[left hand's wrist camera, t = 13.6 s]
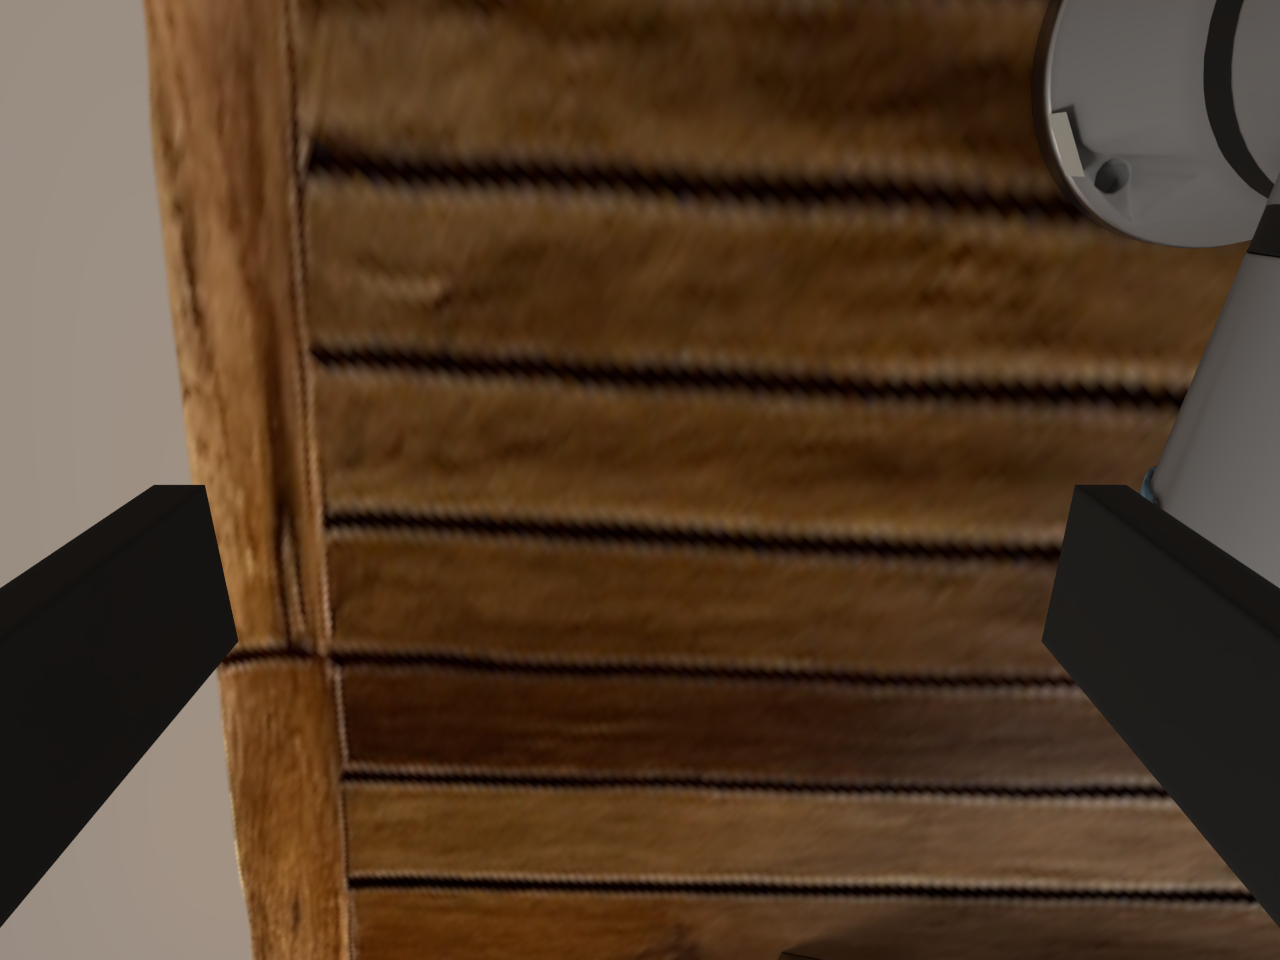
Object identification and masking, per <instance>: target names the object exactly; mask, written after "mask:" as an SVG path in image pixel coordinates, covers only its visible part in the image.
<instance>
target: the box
mask: <svg viewBox="0 0 1280 960" xmlns="http://www.w3.org/2000/svg"><path fill="white" fill-rule="evenodd" d="M779 960H816V959H811V958H806V957H801V956H796V955H791V954H786V953H781V956H780V958H779Z"/></svg>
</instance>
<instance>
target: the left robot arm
mask: <svg viewBox="0 0 1280 960" xmlns="http://www.w3.org/2000/svg"><path fill="white" fill-rule="evenodd" d="M1031 97H1032V113H1033V120H1034V126H1035V132H1036V136H1037V140H1038V143H1039V147H1040V150H1041V153H1042V156H1043V158H1044V161H1045V163H1046V166H1047V168H1048V170H1049V171H1050V173H1051V175H1052V177H1053V179H1054V181H1055V182H1056V184H1057V185H1058V187H1059V188H1060V190H1061V191H1062V193H1063V194H1064V195H1065V196H1066V197H1067V198H1068V200H1069V201H1070V202H1071V203H1072V204H1073V205H1074V206H1075V207H1076V208H1077V209H1078V210H1079V211H1080V212H1081V213H1082V214H1084V215H1085V216H1086V217H1088V218H1089V219H1090V220H1092V221H1093V222H1094V223H1096V224H1097V225H1099V226H1101V227H1103V228H1105V229H1107V230H1108V231H1110V232H1113V233H1115V234H1118V235H1120V236H1123V237H1125V238H1129V239H1133V240H1136V241H1140V242H1146V243H1152V244H1158V245H1164V246H1171V247H1178V248H1208V247H1216V246H1223V245H1229V244H1234V243H1239V242H1244V241H1248V240H1252V241H1251V243H1250V246H1249V248H1248V250H1247V252H1248V253H1245V255H1244V258H1243V260H1242V263H1241V265H1240V267H1239V270H1238V272H1237V275H1236V277H1235V279H1234V282H1233V284H1232V287H1231V289H1230V291H1229V294H1228V296H1227V299H1226V301H1225V303H1224V306H1223V308H1222V311H1221V313H1220V315H1219V318H1218V320H1217V322H1216V325H1215V327H1214V330H1213V332H1212V334H1211V337H1210V339H1209V342H1208V344H1207V346H1206V349H1205V351H1204V354H1203V356H1202V358H1201V361H1200V363H1199V366H1198V368H1197V370H1196V373H1195V375H1194V378H1193V380H1192V382H1191V385H1190V387H1189V390H1188V392H1187V394H1186V397H1185V399H1184V402H1183V404H1182V406H1181V409H1180V411H1179V414H1178V416H1177V418H1176V421H1175V423H1174V426H1173V428H1172V430H1171V433H1170V435H1169V438H1168V440H1167V442H1166V445H1165V447H1164V450H1163V452H1162V454H1161V457H1160V459H1159V462H1158V464H1157V466H1155V467H1152V468H1150V469H1149V471H1148V472H1147V474H1146V476H1145V477H1144V480H1143V483H1142V487H1141V491H1140V494H1141V495H1140V494H1139V493H1137V492H1136V491H1134V490H1133V489H1131V488H1130V487H1128V486H1127V485H1075V488H1074V493H1073V498H1072V502H1071V507H1070V512H1069V516H1068V521H1067V526H1066V530H1065V535H1064V540H1063V544H1062V549H1061V554H1060V558H1059V563H1058V568H1057V572H1056V577H1055V582H1054V586H1053V591H1052V596H1051V600H1050V605H1049V610H1048V614H1047V619H1046V624H1045V628H1044V633H1043V637H1042V642H1043V644H1044V645H1045V646H1046V647H1047V648H1048V650H1049V651H1050V652H1051V653H1052V654H1053V656H1054V657H1055V658H1056V659H1057V660H1058V662H1059V663H1060V664H1061V665H1062V666H1063V668H1064V669H1065V670H1066V671H1067V672H1068V674H1069V675H1070V676H1071V677H1072V678H1073V680H1074V681H1075V682H1076V683H1077V684H1078V686H1079V687H1080V688H1081V689H1082V690H1083V692H1084V693H1085V694H1086V695H1087V697H1088V698H1089V699H1090V700H1091V701H1092V703H1093V704H1094V705H1095V706H1096V707H1097V709H1098V710H1099V711H1100V712H1101V713H1102V715H1103V716H1104V717H1105V718H1106V719H1107V721H1108V722H1109V723H1110V724H1111V725H1112V727H1113V728H1114V729H1115V730H1116V731H1117V733H1118V734H1119V735H1120V736H1121V737H1122V739H1123V740H1124V741H1125V742H1126V743H1127V745H1128V746H1129V747H1130V748H1131V749H1132V751H1133V752H1134V753H1135V754H1136V755H1137V757H1138V758H1139V759H1140V760H1141V761H1142V763H1143V764H1144V765H1145V766H1146V767H1147V769H1148V770H1149V771H1150V772H1151V773H1152V775H1153V776H1154V777H1155V778H1156V779H1157V781H1158V782H1159V783H1160V784H1161V785H1162V787H1163V788H1164V789H1165V790H1166V791H1167V793H1168V794H1169V795H1170V796H1171V798H1172V799H1173V800H1174V801H1175V802H1176V804H1177V805H1178V806H1179V807H1180V808H1181V810H1182V811H1183V812H1184V813H1185V814H1186V816H1187V817H1188V818H1189V819H1190V820H1191V822H1192V823H1193V824H1194V825H1195V826H1196V828H1197V829H1198V830H1199V831H1200V832H1201V834H1202V835H1203V836H1204V837H1205V838H1206V840H1207V841H1208V842H1209V843H1210V844H1211V846H1212V847H1213V848H1214V849H1215V850H1216V852H1217V853H1218V854H1219V855H1220V856H1221V858H1222V859H1223V860H1224V861H1225V862H1226V864H1227V865H1228V866H1229V867H1230V868H1231V870H1232V871H1233V872H1234V873H1235V874H1236V876H1237V877H1238V878H1239V879H1240V880H1241V882H1242V883H1243V884H1244V885H1245V886H1246V888H1247V889H1248V890H1249V891H1250V892H1251V894H1252V895H1253V896H1254V897H1255V898H1256V900H1257V901H1258V902H1259V903H1260V905H1261V906H1262V907H1263V908H1264V909H1265V911H1266V912H1267V913H1268V914H1269V915H1270V917H1271V918H1272V919H1273V920H1274V921H1275V923H1276V924H1277V925H1278V926H1279V927H1280V0H1050V3H1049V5H1048V8H1047V11H1046V13H1045V16H1044V19H1043V23H1042V26H1041V29H1040V33H1039V36H1038V41H1037V46H1036V51H1035V56H1034V63H1033V72H1032V92H1031ZM1249 253H1250V254H1249ZM1262 255H1263V256H1262ZM1269 256H1271V257H1269ZM1275 257H1278V258H1275ZM237 642H238V637H237V633H236V628H235V624H234V619H233V614H232V610H231V605H230V600H229V596H228V591H227V586H226V582H225V577H224V572H223V568H222V563H221V558H220V554H219V549H218V544H217V540H216V535H215V530H214V526H213V521H212V516H211V512H210V507H209V502H208V498H207V493H206V488H205V485H153V486H152V487H150V488H149V489H147V490H146V491H144V492H143V493H141V494H140V495H138V496H137V497H135V498H134V499H132V500H131V501H129V502H128V503H126V504H125V505H123V506H122V507H120V508H119V509H118V510H116V511H115V512H113V513H112V514H110V515H109V516H107V517H106V518H104V519H103V520H101V521H100V522H98V523H97V524H95V525H94V526H92V527H91V528H89V529H88V530H86V531H85V532H83V533H82V534H80V535H79V536H77V537H76V538H74V539H73V540H71V541H70V542H68V543H67V544H65V545H64V546H62V547H61V548H59V549H58V550H56V551H55V552H53V553H52V554H51V555H49V556H48V557H46V558H45V559H43V560H42V561H40V562H39V563H37V564H36V565H34V566H33V567H31V568H30V569H28V570H27V571H25V572H24V573H22V574H21V575H19V576H18V577H16V578H15V579H13V580H12V581H10V582H9V583H7V584H6V585H4V586H3V587H1V588H0V927H1V926H2V925H3V924H4V923H5V921H6V920H7V919H8V918H9V917H10V915H11V914H12V913H13V912H14V911H15V909H16V908H17V907H18V906H19V905H20V903H21V902H22V901H23V900H24V898H25V897H26V896H27V895H28V894H29V892H30V891H31V890H32V889H33V888H34V886H35V885H36V884H37V883H38V882H39V880H40V879H41V878H42V877H43V876H44V874H45V873H46V872H47V871H48V870H49V868H50V867H51V866H52V865H53V864H54V862H55V861H56V860H57V859H58V858H59V856H60V855H61V854H62V853H63V852H64V850H65V849H66V848H67V847H68V846H69V844H70V843H71V842H72V841H73V840H74V838H75V837H76V836H77V835H78V834H79V832H80V831H81V830H82V829H83V828H84V826H85V825H86V824H87V823H88V822H89V820H90V819H91V818H92V817H93V815H94V814H95V813H96V812H97V811H98V810H99V808H100V807H101V806H102V805H103V804H104V802H105V801H106V800H107V799H108V797H109V796H110V795H111V794H112V793H113V791H114V790H115V789H116V788H117V787H118V785H119V784H120V783H121V782H122V781H123V779H124V778H125V777H126V776H127V775H128V773H129V772H130V771H131V770H132V769H133V767H134V766H135V765H136V764H137V763H138V761H139V760H140V759H141V758H142V757H143V755H144V754H145V753H146V752H147V751H148V749H149V748H150V747H151V746H152V745H153V743H154V742H155V741H156V740H157V739H158V737H159V736H160V735H161V734H162V733H163V731H164V730H165V729H166V728H167V727H168V725H169V724H170V723H171V722H172V721H173V719H174V718H175V717H176V716H177V715H178V713H179V712H180V711H181V710H182V708H183V707H184V706H185V705H186V704H187V703H188V701H189V700H190V699H191V698H192V697H193V695H194V694H195V693H196V692H197V691H198V689H199V688H200V687H201V686H202V684H203V683H204V682H205V681H206V680H207V678H208V677H209V676H210V675H211V674H212V672H213V671H214V670H215V669H216V668H217V666H218V665H219V664H220V663H221V662H222V660H223V659H224V658H225V657H226V656H227V654H228V653H229V652H230V651H231V650H232V648H233V647H234V646H235V645H236V644H237Z"/></svg>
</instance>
